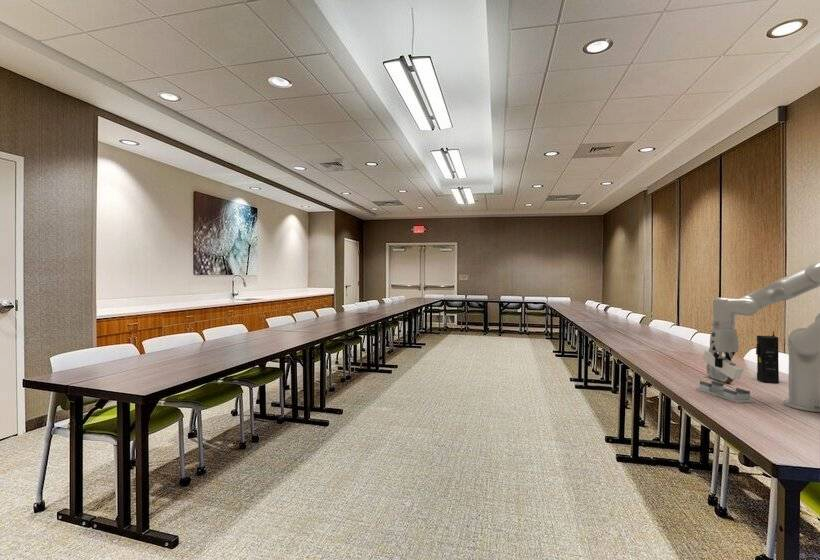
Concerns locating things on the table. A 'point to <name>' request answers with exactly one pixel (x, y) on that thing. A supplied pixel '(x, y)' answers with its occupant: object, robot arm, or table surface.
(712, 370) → the tin
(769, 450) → the table surface
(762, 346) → the portable radio
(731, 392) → the cradle rack
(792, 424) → the table surface
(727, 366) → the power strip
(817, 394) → the robot arm
